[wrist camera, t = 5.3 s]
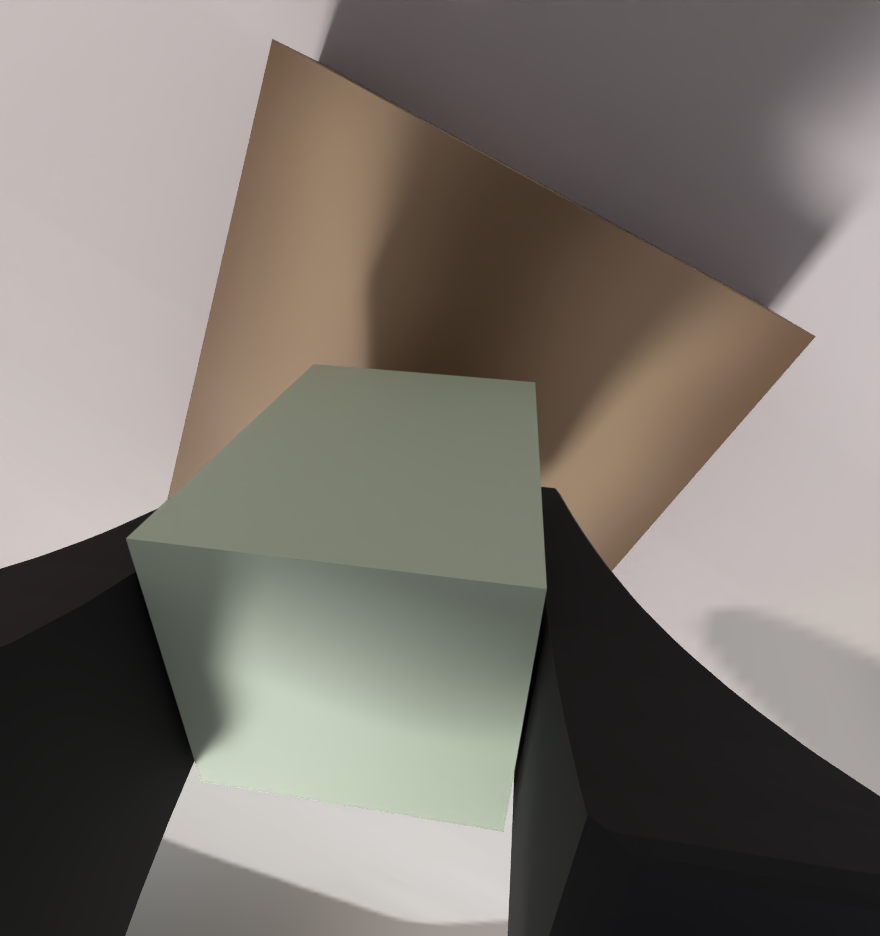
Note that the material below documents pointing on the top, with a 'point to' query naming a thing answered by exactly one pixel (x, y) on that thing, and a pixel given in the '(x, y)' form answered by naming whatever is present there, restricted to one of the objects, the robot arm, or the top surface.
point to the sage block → (359, 593)
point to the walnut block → (470, 301)
